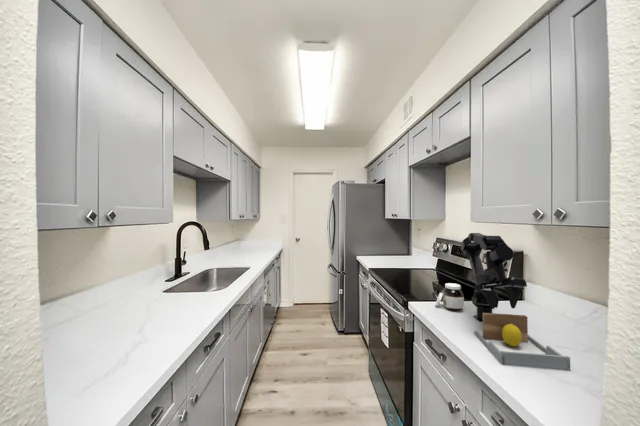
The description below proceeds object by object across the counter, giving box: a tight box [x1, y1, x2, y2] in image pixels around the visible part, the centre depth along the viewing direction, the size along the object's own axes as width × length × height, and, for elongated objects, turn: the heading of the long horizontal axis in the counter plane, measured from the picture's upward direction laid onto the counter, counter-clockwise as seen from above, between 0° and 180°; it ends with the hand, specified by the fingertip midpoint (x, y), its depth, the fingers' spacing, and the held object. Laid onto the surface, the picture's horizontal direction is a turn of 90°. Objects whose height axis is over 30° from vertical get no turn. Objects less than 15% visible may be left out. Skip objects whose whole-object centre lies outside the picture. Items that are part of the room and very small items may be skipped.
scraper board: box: [482, 312, 529, 343], centre depth 96 cm, size 2×14×9 cm, turn 80°
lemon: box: [502, 324, 522, 348], centre depth 91 cm, size 6×6×8 cm
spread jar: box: [435, 282, 465, 312], centre depth 129 cm, size 12×11×12 cm
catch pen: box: [473, 330, 571, 371], centre depth 89 cm, size 21×18×4 cm
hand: (502, 308), depth 97 cm, fingers open, 9 cm apart
